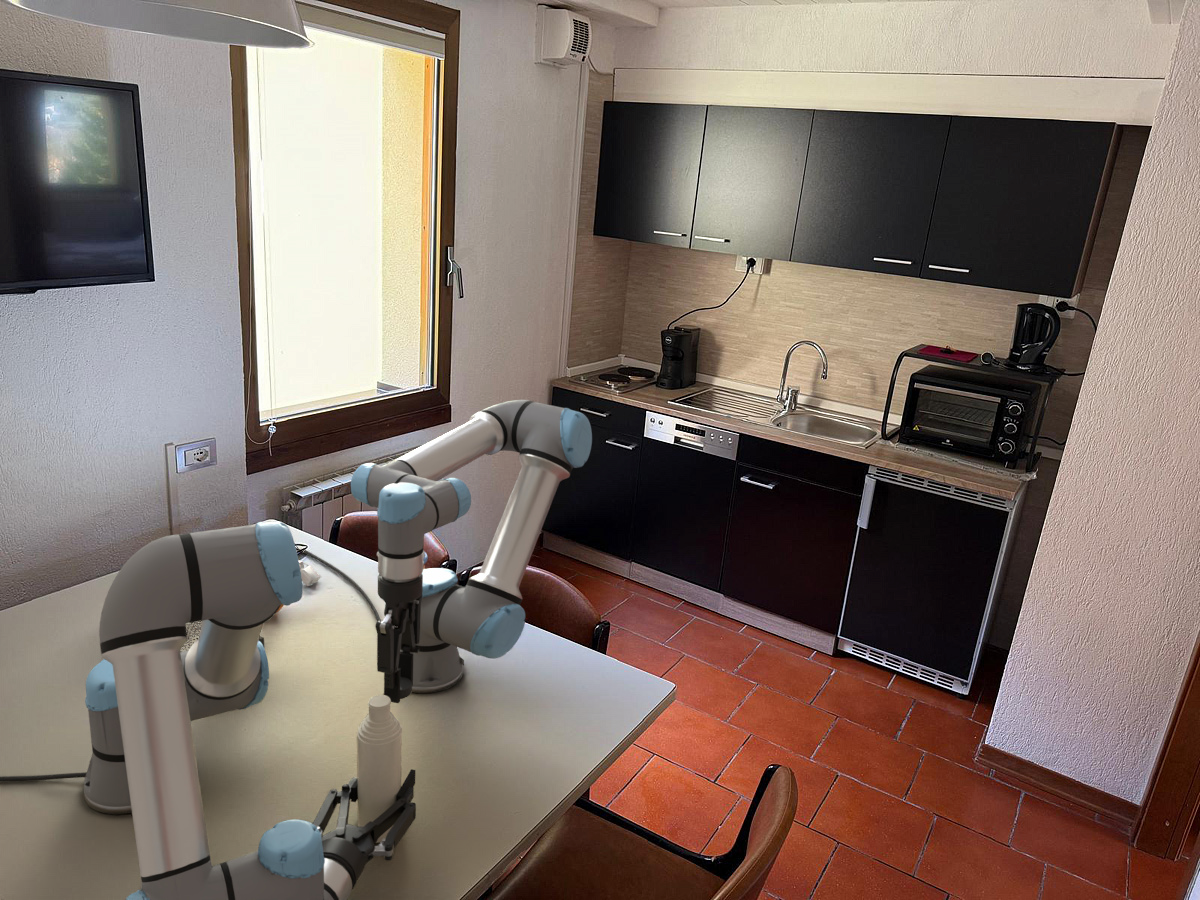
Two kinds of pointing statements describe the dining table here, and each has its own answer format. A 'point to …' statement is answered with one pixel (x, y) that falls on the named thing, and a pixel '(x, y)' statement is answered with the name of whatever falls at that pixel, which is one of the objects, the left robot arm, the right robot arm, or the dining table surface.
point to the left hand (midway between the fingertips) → (391, 772)
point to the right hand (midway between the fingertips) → (398, 692)
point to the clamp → (308, 574)
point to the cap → (405, 687)
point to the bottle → (378, 761)
